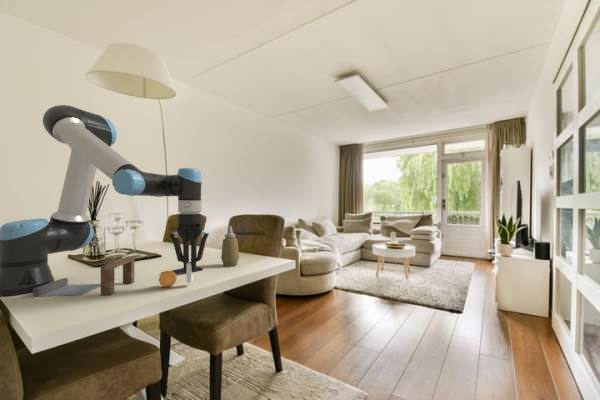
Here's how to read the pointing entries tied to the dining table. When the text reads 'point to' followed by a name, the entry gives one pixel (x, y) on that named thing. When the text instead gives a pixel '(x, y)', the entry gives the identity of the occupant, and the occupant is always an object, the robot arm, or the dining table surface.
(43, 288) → the stopper wall
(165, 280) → the ball
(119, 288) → the dining table surface
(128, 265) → the bridge
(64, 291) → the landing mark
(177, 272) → the phone
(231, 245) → the squeeze bottle
